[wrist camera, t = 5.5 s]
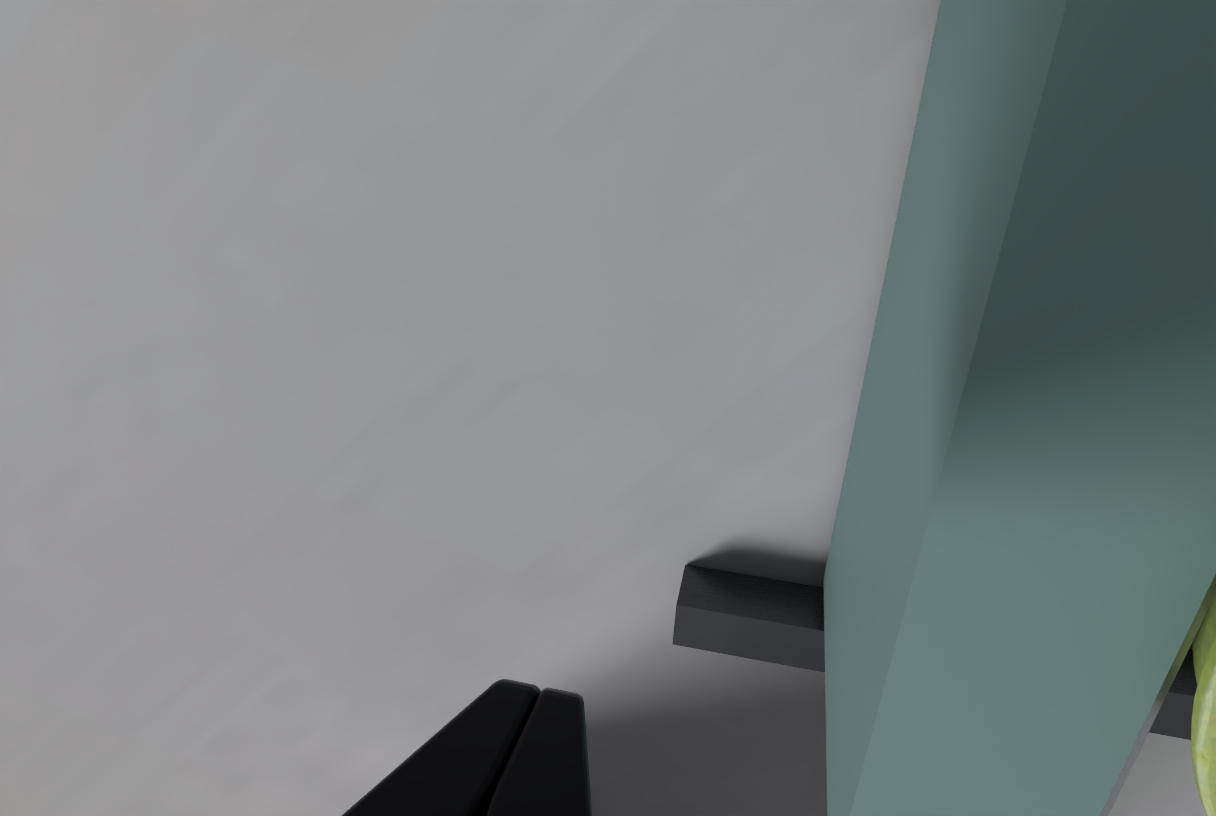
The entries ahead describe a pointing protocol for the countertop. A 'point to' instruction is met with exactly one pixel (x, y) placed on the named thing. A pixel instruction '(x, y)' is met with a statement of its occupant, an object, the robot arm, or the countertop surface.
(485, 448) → the countertop surface
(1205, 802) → the plant pot
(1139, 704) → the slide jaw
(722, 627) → the vise body
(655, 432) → the countertop surface
